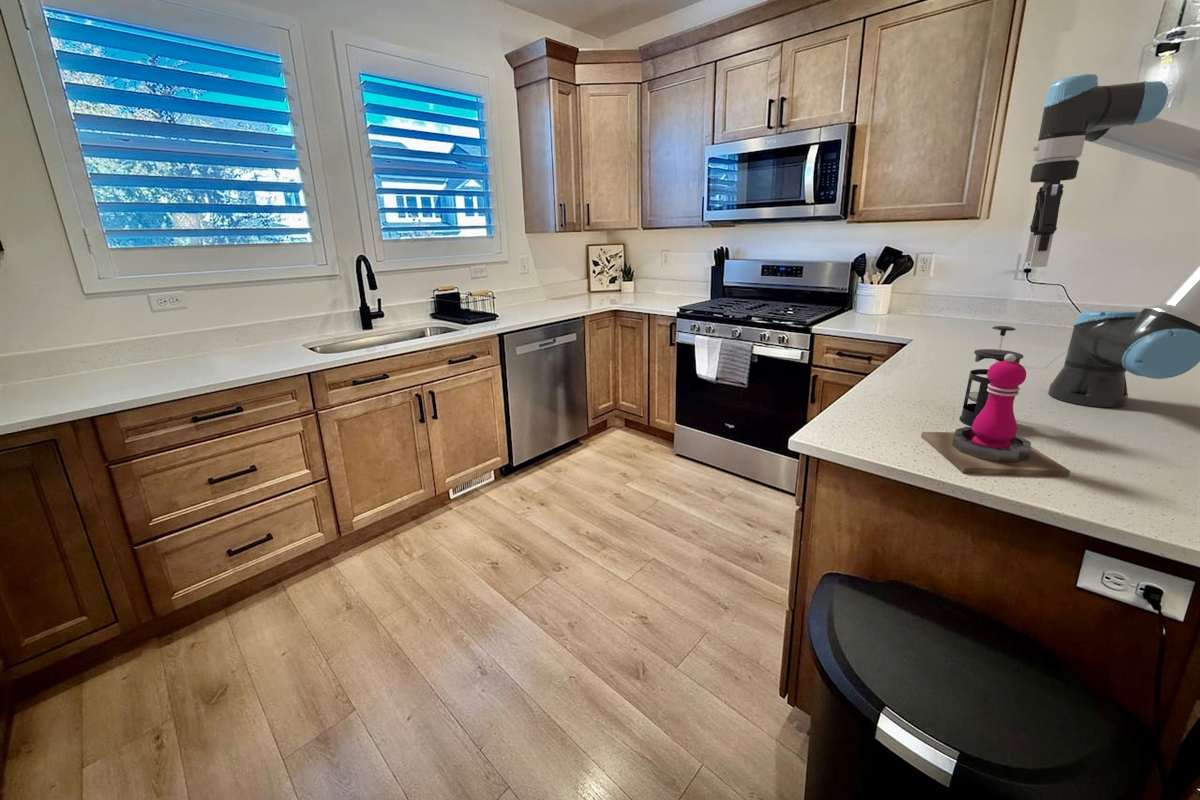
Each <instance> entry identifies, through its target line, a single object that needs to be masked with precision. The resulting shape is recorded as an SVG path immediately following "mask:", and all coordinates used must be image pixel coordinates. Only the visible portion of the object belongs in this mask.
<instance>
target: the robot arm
mask: <svg viewBox="0 0 1200 800" xmlns="http://www.w3.org/2000/svg"><path fill="white" fill-rule="evenodd" d="M1098 79H1099V77H1098V75H1096V74H1095V73H1094V74H1092V73H1086V74H1079V75H1078V74H1077V75H1072V76H1068V77H1064V78H1061V79H1058V80H1056V81H1054V82H1053V83H1051V84H1050V85H1049V88H1048V92H1047V94H1046V99H1045V100H1044V104H1043V111H1042V117H1041V123H1040V129H1039V132H1038V133H1039V134H1038V140H1037V145H1035V146H1033V148H1032V151H1033V152H1036V153H1035V155H1034V161H1035V162H1037V163H1034V164H1033V165H1032V169H1031V172H1030V178H1029V180H1030V183H1034V184H1036V183H1043V184H1042V186H1040V187H1039V189H1038V191H1037V193H1036V196H1035V199H1036V200H1035V205H1034V211H1033V215H1032V220H1031V224H1030V226H1029V229H1030V230H1029V231H1030V232H1029V236H1028V243H1027V247H1026V252H1025V257H1024V263H1030V265H1029V268H1047V266H1048V262H1049V257H1050V253H1051V247H1052V242H1053V240H1054V239H1053V238H1054V234H1055V233H1056V231H1057V228H1058V227H1057V224H1058V219H1059V218H1058V217H1059V211H1060V204H1061V199H1062V197H1063V193H1064V186H1065V185H1064V184H1063V183H1062V184H1061V181H1062V182H1063V181H1071V180H1075V179H1076V177H1077V176H1078V175H1077V174H1078V171H1079V165H1080V161H1079V160H1078V158H1080V157H1081V156H1082V155H1083V148H1084V145H1085V141H1086V142H1089V143H1092V144H1097V145H1099V146H1102V147H1105V148H1109V149H1112V150H1116V151H1120V152H1123V153H1125V154H1128V155H1132V156H1134V157H1138V158H1143V159H1145V160H1149V161H1152V162H1154V163H1159V164H1161V165H1165V166H1168V167H1171V168H1174V169H1178V170H1181V171H1184V172H1188V173H1191V174H1194V177H1195V180H1197V181H1199V182H1200V129H1198V128H1193V127H1191V126H1187V125H1184V124H1182V123H1181V124H1180V123H1177V122H1174V121H1171V120H1167V119H1163V118H1160V117H1158V116H1159V115H1160V113H1161V112H1162V111H1163V109H1164V108H1165V106H1166V104H1167V100H1168V97H1169V88H1168V86H1167V84H1166V83H1164V81H1147V80H1144V81H1138V82H1132V83H1129V82H1128V83H1123V84H1122V83H1120V84H1111V85H1099V82H1098V81H1099V80H1098ZM1199 363H1200V259H1199V260H1198V261H1197V262H1196V263H1195V264H1194V266H1193V267H1192V268H1191V269H1189V271H1188V272H1187V273H1186V274H1185V275H1184V277H1182V279H1180V281H1179V282H1178V283H1177V284H1176V285H1175V286H1174V287H1173V288H1172V289H1171V290H1170V291H1169V293H1168V294H1167V295H1165V297H1163V299H1162V301H1160V302H1159V303H1158V304H1155V305H1150V306H1145V307H1144V308H1143V309H1142V310H1141V311H1139V310H1137V311H1135V310H1086V311H1082V312H1080V313H1079V314H1078V315H1077V317H1076V319H1075V321H1074V324H1073V330H1072V334H1071V337H1070V341H1069V344H1068V349H1067V353H1066V356H1065V361H1064V365H1063V366H1062V368H1061V370H1060V371H1058V372H1059V373H1057V375H1056V376H1055V378H1054V379H1053V381H1052V382H1051V383H1050V384H1049V388H1048V390H1047V394H1048V395H1049V396H1050V397H1052V398H1053V399H1056V400H1059V401H1062V402H1067V403H1070V404H1071V403H1072V404H1076V405H1080V406H1087V407H1095V408H1096V407H1097V408H1121V407H1124V406H1125V405H1127V401H1128V398H1129V393H1128V386H1127V379H1126V372H1128V373H1130V374H1132V375H1134V376H1136V377H1137V376H1138V377H1143V378H1148V379H1152V380H1153V379H1155V380H1163V379H1169V378H1175V377H1179V376H1181V375H1183V374H1185V373H1188V372H1189V371H1190V370H1192V369H1193V368H1195V367H1196V366H1197V365H1199Z"/></svg>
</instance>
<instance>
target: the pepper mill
mask: <svg viewBox="0 0 1200 800" xmlns="http://www.w3.org/2000/svg"><path fill="white" fill-rule="evenodd" d="M1004 360H1005V361H1000V362H999V361H998V362H996V361H995V362H996V363H993V364H991V365H990V366H989V368H988V372H987V375H986V376H987V377H986V378H988V379H989V381H990V382H991V383H990V384H988V388H987V391H988V392H989V395H988V399H987V402H986V405H985V406H984V408H983V409H982V411H981V412H980V413H979V414H978V415H977V417H976V418H975V420H974V422H973V425H972V426H971V427H972V430H973V432H974V433H975V435H976V436H974V437H973V438H972V442H975V443H978V444H981V445H985V446H990V447H996V448H1010V443H1009V442H1008V441H1010V440H1011V439H1013V438H1014V437H1015V436H1016V435H1017V432H1018V425H1017V424H1018V423H1017V420H1016V417H1015V412H1014V401H1015V398H1016V397H1017V396H1019V391H1021V389H1020V385H1022V384H1023V383H1024V382H1025V381H1026V379H1027V370H1026V368H1025V366H1023V365H1022V364H1020V362H1019V363H1016V362H1014V361H1015V360H1016V356H1015V355H1014V354H1007V355H1006V356H1005V357H1004Z"/></svg>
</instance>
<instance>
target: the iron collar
mask: <svg viewBox="0 0 1200 800" xmlns="http://www.w3.org/2000/svg"><path fill="white" fill-rule="evenodd" d="M954 432H955V434H954V438H953V443H952V446H953V447H955V448H956V449H957V450H958V451H960V452H962V453H964V454H967V455H970V456H972V457H975V458H978V459H983V460H988V461H993V462H1002V463H1018V462H1022V461H1025V460H1028V458H1029V454H1030V450H1031V447H1032V441H1030V440H1028V439H1026V438H1025V437H1023V436H1021V435H1019V434H1016V436H1015V437H1014V438H1013V439H1011V440H1010V441H1008V442H1009V443H1010V447H1012V448H996V447H990V446H985V445H981V444H978V443H975V442H972V441H969V440H972V438H973V437H974V436H976V435H975V433H974V432H973V430H972V426H965V427H960V428H956V429H955V431H954Z"/></svg>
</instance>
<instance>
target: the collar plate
mask: <svg viewBox="0 0 1200 800" xmlns="http://www.w3.org/2000/svg"><path fill="white" fill-rule="evenodd" d="M954 434H955V431H954V432H953V431H952V432H951V431H949V432H948V431H947V432H946V431H945V432H944V431H922V432H921V434H920V435H921V436H920V437H921V438H922V439H923V440H924V441H926V442H927V443H928V444H929V445H930V446H931V447H932V448H934V450H936V451H937V452H938V453H939V454H941V456H942V457H944V458H945V459H946V460H947V461H948V462H950V463H951V464H952V465H953V467H955V468H956V469H958V470H959V471H960V472H961V473H962V474H974V475H976V474H977V475H978V474H979V475H981V474H982V475H1004V476H1007V475H1008V476H1009V475H1010V476H1013V475H1015V476H1037V477H1038V476H1043V477H1069V476H1070V473H1071V470H1070V469H1068V468H1066V467H1065V466H1063V465H1062V464H1060V463H1058V462H1057V461H1056V460H1054V459H1052V458H1051V457H1049V456H1047V455H1046V454H1044V453H1043V452H1040V450H1038V449H1036V448H1035V447H1034V446H1031V450H1030V454H1029V458H1028V460H1025V461H1022V462H1018V463H1002V462H993V461H988V460H983V459H978V458H975V457H972V456H970V455H967V454H964V453H962V452H960V451H958V450H957V449H956V448H955V447H953V446H952V443H953V438H954ZM969 441H972V440H969ZM1010 448H1012V447H1010Z"/></svg>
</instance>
